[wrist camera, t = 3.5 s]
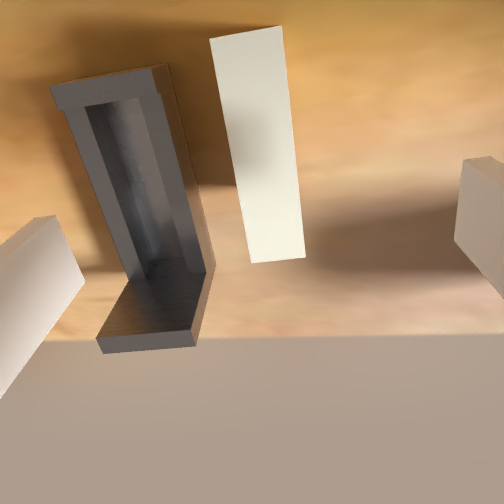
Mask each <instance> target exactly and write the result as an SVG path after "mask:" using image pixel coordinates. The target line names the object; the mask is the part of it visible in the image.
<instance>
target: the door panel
mask: <svg viewBox="0 0 504 504" xmlns="http://www.w3.org/2000/svg"><path fill="white" fill-rule="evenodd" d="M209 40H210V45H211V51H212V56H213V61H214V67H215V72H216V77H217V83H218V88H219V93H220V99H221V104H222V109H223V115H224V120H225V125H226V131H227V136H228V141H229V147H230V152H231V157H232V163H233V168H234V173H235V179H236V184H237V189H238V195H239V200H240V205H241V210H242V216H243V221H244V226H245V232H246V237H247V242H248V248H249V253H250V258H251V263H258V262H268V261H277V260H286V259H296V258H305V257H306V254H305V245H304V235H303V225H302V216H301V206H300V196H299V187H298V177H297V168H296V158H295V148H294V139H293V129H292V120H291V110H290V100H289V91H288V81H287V72H286V62H285V52H284V43H283V33H282V25H281V26H275V27H270V28H264V29H259V30H253V31H248V32H242V33H237V34H232V35H226V36H221V37H216V38H211V39H209Z"/></svg>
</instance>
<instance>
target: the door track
mask: <svg viewBox="0 0 504 504" xmlns="http://www.w3.org/2000/svg"><path fill="white" fill-rule="evenodd" d="M49 88H50V90H51V93H52V96H53V98H54V101H55V103H56V106H57V108H58V111H61V110H63V111H64V113H65V116H66V119H67V121H68V124H69V126H70V129H71V132H72V134H73V137H74V139H75V142H76V145H77V147H78V150H79V152H80V155H81V158H82V160H83V163H84V165H85V168H86V171H87V173H88V176H89V178H90V181H91V184H92V186H93V189H94V191H95V194H96V197H97V199H98V202H99V204H100V207H101V210H102V212H103V215H104V217H105V220H106V223H107V225H108V228H109V230H110V233H111V236H112V238H113V241H114V243H115V246H116V249H117V251H118V254H119V256H120V259H121V261H122V264H123V267H124V269H125V272H126V274H127V277H128V280H129V281H128V283H127V285H126V286H125V288H124V290H123V292H122V293H121V295H120V297H119V299H118V300H117V302H116V304H115V305H114V307H113V309H112V311H111V312H110V314H109V316H108V318H107V319H106V321H105V323H104V325H103V326H102V328H101V330H100V332H99V333H98V335H97V337H96V340H97V342H98V344H99V346H100V348H101V350H102V352H103V354H108V353H120V352H132V351H144V350H157V349H168V348H181V347H192V346H196V343H197V339H198V335H199V331H200V327H201V323H202V319H203V315H204V311H205V307H206V303H207V299H208V295H209V291H210V287H211V283H212V279H213V275H214V271H215V267H216V262H215V258H214V253H213V249H212V245H211V241H210V237H209V233H208V229H207V225H206V220H205V216H204V212H203V208H202V204H201V200H200V196H199V192H198V187H197V183H196V179H195V175H194V171H193V167H192V163H191V158H190V154H189V150H188V146H187V142H186V138H185V134H184V130H183V125H182V121H181V117H180V113H179V109H178V105H177V101H176V97H175V92H174V88H173V84H172V80H171V76H170V72H169V68H168V64H167V63H163V64H158V65H152V66H147V67H141V68H135V69H130V70H124V71H118V72H113V73H107V74H102V75H96V76H90V77H85V78H79V79H75V80H71V81H68V82H64V83H60V84H56V85H53V86H49Z"/></svg>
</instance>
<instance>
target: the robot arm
mask: <svg viewBox="0 0 504 504" xmlns="http://www.w3.org/2000/svg"><path fill="white" fill-rule="evenodd" d="M454 241H455V243H456V244H457V245H458V246H459V247H460V248H461V250H462V251H463V252H464V253H465V254H466V255H467V257H468V258H469V259H470V260H471V261H472V262H473V264H474V265H475V266H476V267H477V268H478V269H479V271H480V272H481V273H482V274H483V275H484V276H485V278H486V279H487V280H488V281H489V282H490V283H491V285H492V286H493V287H494V288H495V289H496V290H497V292H498V293H499V294H500V295H501V296H502V297H503V299H504V164H502V163H501V162H499V161H497V160H496V159H494V158H492V157H491V156H488V157H480V158H473V159H466V160H463V163H462V172H461V181H460V189H459V198H458V207H457V215H456V224H455V233H454ZM84 283H85V280H84V277H83V275H82V273H81V271H80V269H79V266H78V264H77V262H76V260H75V258H74V255H73V253H72V251H71V249H70V246H69V244H68V242H67V240H66V238H65V235H64V233H63V231H62V229H61V227H60V224H59V222H58V220H57V218H56V216H55V215H53V216H46V217H38V218H34V219H33V220H31V221H30V222H29V223H28V224H26V225H25V226H24V227H23V228H21V229H20V230H19V231H18V232H16V233H15V234H14V235H13V236H12V237H10V238H9V239H8V240H7V241H5V242H4V243H3V244H2V245H0V398H1V397H2V396H3V394H4V393H5V392H6V390H7V389H8V387H9V386H10V385H11V383H12V382H13V381H14V379H15V378H16V376H17V375H18V374H19V372H20V371H21V370H22V368H23V367H24V366H25V364H26V363H27V361H28V360H29V359H30V357H31V356H32V354H33V353H34V352H35V350H36V349H37V348H38V346H39V345H40V344H41V342H42V341H43V339H44V338H45V337H46V335H47V334H48V333H49V331H50V330H51V328H52V327H53V326H54V324H55V323H56V322H57V320H58V319H59V318H60V316H61V315H62V313H63V312H64V311H65V309H66V308H67V307H68V305H69V304H70V302H71V301H72V300H73V298H74V297H75V296H76V294H77V293H78V291H79V290H80V289H81V287H82V286H83V285H84Z"/></svg>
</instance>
